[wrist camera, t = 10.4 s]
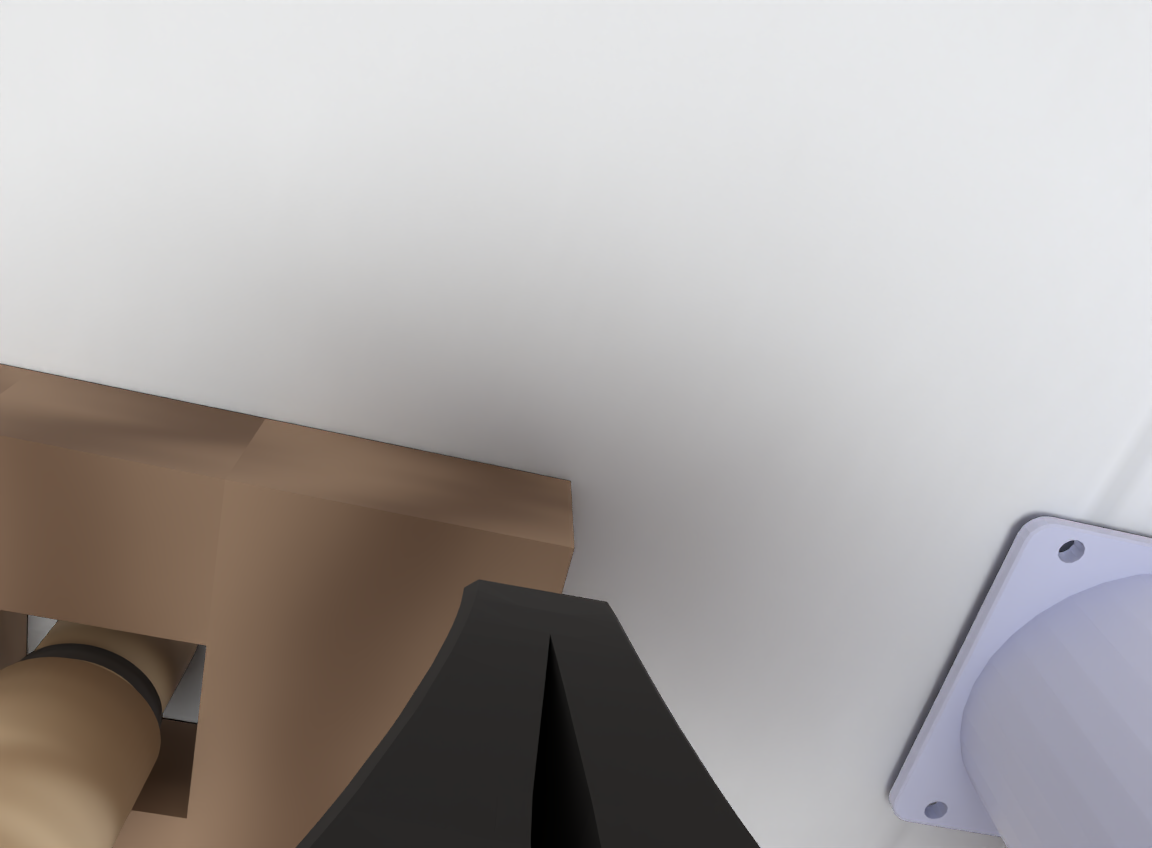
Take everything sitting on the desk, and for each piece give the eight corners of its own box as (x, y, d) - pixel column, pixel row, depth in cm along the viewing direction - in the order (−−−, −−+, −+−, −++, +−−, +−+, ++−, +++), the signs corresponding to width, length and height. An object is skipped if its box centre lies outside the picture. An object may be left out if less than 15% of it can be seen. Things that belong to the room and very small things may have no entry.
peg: (224, 584, 19) (67, 870, 13) (201, 704, 21) (47, 1021, 14) (61, 546, 19) (-184, 824, 13) (47, 672, 20) (-182, 985, 14)
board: (570, 481, 19) (574, 548, 16) (431, 989, 24) (419, 1090, 22) (-447, 272, 16) (-606, 315, 14) (-335, 886, 22) (-435, 987, 20)
